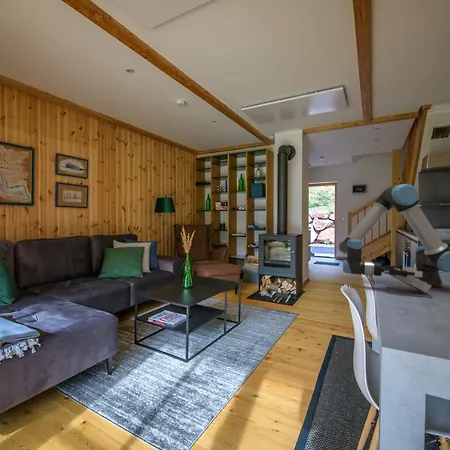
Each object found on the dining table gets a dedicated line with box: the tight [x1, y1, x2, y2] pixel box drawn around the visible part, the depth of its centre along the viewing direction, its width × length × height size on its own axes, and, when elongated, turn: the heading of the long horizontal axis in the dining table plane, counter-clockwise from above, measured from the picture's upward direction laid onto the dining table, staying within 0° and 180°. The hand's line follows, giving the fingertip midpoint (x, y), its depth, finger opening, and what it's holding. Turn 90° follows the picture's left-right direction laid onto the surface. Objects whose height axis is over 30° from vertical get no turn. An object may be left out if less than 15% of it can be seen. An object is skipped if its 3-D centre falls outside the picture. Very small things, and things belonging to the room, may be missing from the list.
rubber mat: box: [385, 286, 433, 299], centre depth 148 cm, size 18×16×1 cm
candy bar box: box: [388, 268, 433, 294], centre depth 147 cm, size 11×5×16 cm
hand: (419, 272), depth 146 cm, fingers open, 13 cm apart
